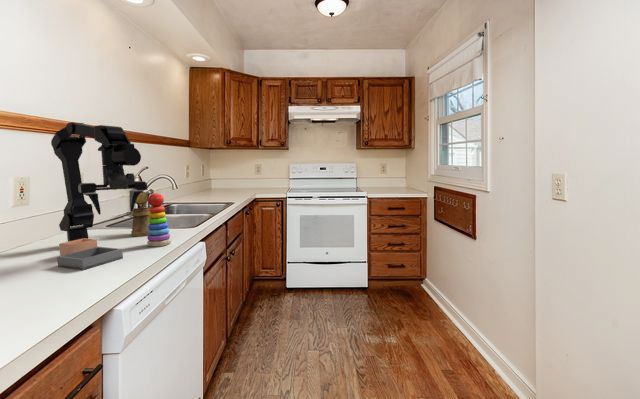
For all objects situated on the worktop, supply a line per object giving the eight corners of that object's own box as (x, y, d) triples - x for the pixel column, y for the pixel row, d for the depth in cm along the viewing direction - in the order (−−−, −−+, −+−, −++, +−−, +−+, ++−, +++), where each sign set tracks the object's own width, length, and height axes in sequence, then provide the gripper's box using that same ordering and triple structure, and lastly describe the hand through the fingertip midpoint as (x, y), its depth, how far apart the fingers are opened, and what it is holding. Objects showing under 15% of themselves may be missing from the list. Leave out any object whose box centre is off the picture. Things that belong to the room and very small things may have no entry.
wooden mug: (154, 229, 153) (151, 189, 151) (155, 235, 141) (152, 191, 139) (131, 231, 149) (128, 190, 147) (131, 237, 137) (127, 193, 135)
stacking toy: (175, 242, 127) (172, 192, 125) (164, 247, 120) (160, 194, 118) (155, 242, 128) (152, 192, 126) (142, 247, 120) (138, 194, 118)
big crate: (58, 266, 98) (57, 256, 98) (99, 255, 110) (98, 246, 109) (83, 270, 95) (82, 259, 94) (122, 258, 106) (122, 248, 106)
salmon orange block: (60, 257, 108) (58, 243, 108) (85, 251, 116) (84, 238, 115) (73, 259, 106) (72, 244, 106) (97, 252, 114) (96, 239, 113)
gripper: (82, 166, 98) (86, 219, 100) (151, 165, 111) (154, 213, 113) (76, 165, 106) (80, 214, 108) (141, 164, 119) (143, 209, 121)
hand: (115, 213), depth 112 cm, fingers open, 9 cm apart
